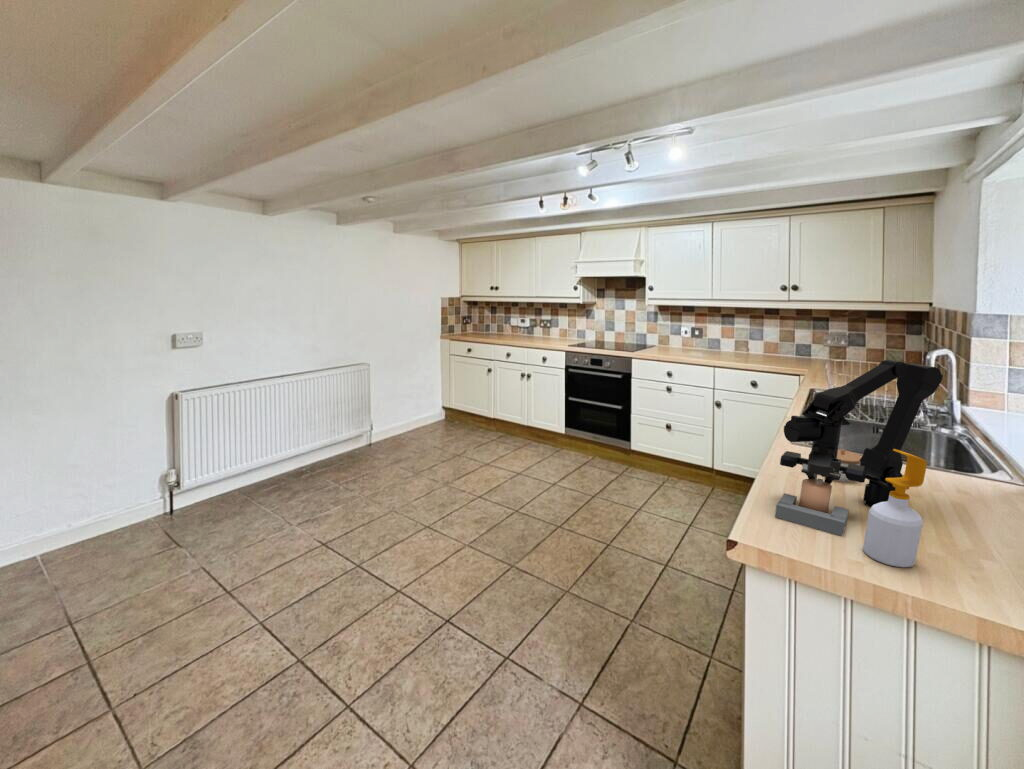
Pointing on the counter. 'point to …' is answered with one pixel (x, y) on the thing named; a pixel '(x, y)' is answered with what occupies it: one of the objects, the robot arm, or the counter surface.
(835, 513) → the cradle
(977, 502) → the counter surface
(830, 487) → the tan handled cup
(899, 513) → the soap bottle
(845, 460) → the lidded jar
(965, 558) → the counter surface
